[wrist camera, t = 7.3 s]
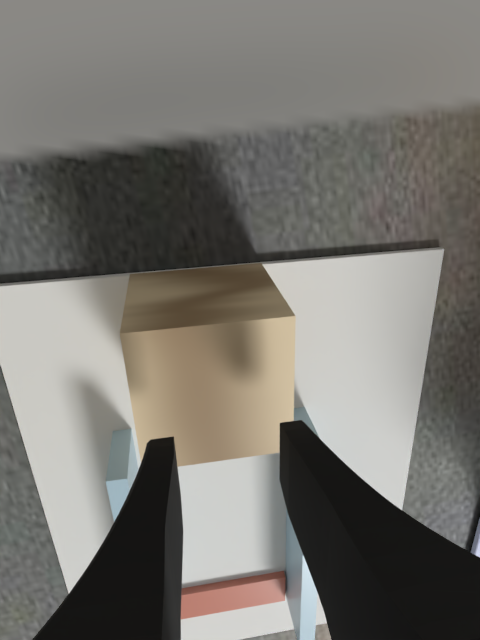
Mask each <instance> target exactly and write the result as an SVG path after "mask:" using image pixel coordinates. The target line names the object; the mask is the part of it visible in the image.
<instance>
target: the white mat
mask: <svg viewBox="0 0 480 640" xmlns="http://www.w3.org/2000/svg"><path fill="white" fill-rule="evenodd" d="M443 253H444V249H443V248H441V247H436V248H424V249H412V250H400V251H388V252H376V253H364V254H352V255H340V256H328V257H316V258H304V259H292V260H280V261H268V262H256V263H262V265H263V266H264V268H265V270H266V271H267V273H268V274H269V276H270V277H271V279H272V280H273V282H274V283H275V285H276V286H277V288H278V290H279V291H280V293H281V294H282V296H283V297H284V299H285V300H286V302H287V303H288V305H289V307H290V308H291V310H292V311H293V313H294V314H295V316H296V322H295V376H294V408H300V407H305V409H306V411H307V413H308V415H309V417H310V419H311V421H312V423H313V425H314V427H315V429H316V432H317V434H318V436H319V438H320V439H321V440H322V441H323V442H324V443H325V444H326V445H327V446H328V447H329V448H330V449H331V450H332V451H333V452H334V453H335V454H336V455H337V456H338V457H339V458H340V459H341V460H342V461H343V462H344V463H345V464H346V465H347V466H348V467H349V468H351V469H352V470H353V471H354V472H355V473H356V474H357V475H358V476H359V477H361V478H362V479H363V480H364V481H365V482H366V483H368V484H369V485H370V486H371V487H372V488H374V489H375V490H376V491H377V492H378V493H380V494H381V495H382V496H383V497H385V498H386V499H387V500H389V501H390V502H391V503H392V504H394V505H395V506H397V507H398V508H399V509H401V510H402V507H403V501H404V495H405V488H406V482H407V476H408V470H409V464H410V458H411V451H412V445H413V439H414V433H415V427H416V420H417V414H418V408H419V402H420V396H421V389H422V383H423V377H424V371H425V365H426V358H427V352H428V346H429V340H430V334H431V328H432V321H433V315H434V309H435V303H436V297H437V290H438V284H439V278H440V272H441V266H442V259H443ZM244 264H255V263H244ZM232 265H243V264H232ZM232 265H220V266H232ZM220 266H208V267H220ZM208 267H196V268H208ZM196 268H184V269H196ZM184 269H171V270H159V271H147V272H135V273H123V274H111V275H99V276H87V277H75V278H63V279H51V280H39V281H27V282H15V283H3V284H0V365H1V368H2V371H3V375H4V378H5V382H6V385H7V388H8V392H9V395H10V398H11V402H12V405H13V408H14V412H15V415H16V418H17V422H18V425H19V428H20V432H21V435H22V439H23V442H24V445H25V449H26V452H27V455H28V459H29V462H30V465H31V469H32V472H33V475H34V479H35V482H36V485H37V489H38V492H39V496H40V499H41V502H42V506H43V509H44V512H45V516H46V519H47V522H48V526H49V529H50V532H51V536H52V539H53V542H54V546H55V549H56V553H57V556H58V559H59V563H60V566H61V569H62V573H63V576H64V579H65V583H66V586H67V589H68V593H70V592H71V590H72V589H73V587H74V586H75V584H76V583H77V581H78V580H79V579H80V577H81V576H82V574H83V573H84V571H85V570H86V569H87V567H88V565H89V564H90V562H91V561H92V559H93V558H94V556H95V554H96V553H97V551H98V550H99V548H100V546H101V545H102V543H103V541H104V540H105V538H106V536H107V534H108V533H109V531H110V529H111V527H112V525H113V523H114V519H113V514H112V509H111V505H110V500H109V495H108V491H107V486H106V475H107V468H108V461H109V454H110V447H111V440H112V433H113V431H117V430H125V429H132V434H133V440H134V446H135V452H136V458H137V464H138V470H139V467H140V465H141V460H140V454H139V448H138V442H137V436H136V430H135V424H134V417H133V411H132V405H131V399H130V393H129V387H128V381H127V375H126V369H125V363H124V357H123V351H122V345H121V339H120V329H121V323H122V317H123V311H124V305H125V300H126V294H127V288H128V282H129V276H130V274H137V273H149V272H161V271H173V270H184ZM279 473H280V453H273V454H266V455H259V456H251V457H244V458H237V459H230V460H223V461H215V462H208V463H201V464H194V465H187V466H180V467H178V475H179V484H180V492H181V505H182V519H183V561H182V588H187V587H192V586H198V585H204V584H210V583H216V582H222V581H227V580H233V579H239V578H245V577H251V576H256V575H262V574H268V573H274V572H280V571H284V574H285V572H286V504H285V500H284V496H283V492H282V488H281V484H280V480H279ZM324 623H327V621H326V617H325V614H324V610H323V607H322V604H321V601H320V598H319V595H318V593H317V609H316V625H318V624H324ZM292 629H294V626H293V622H292V618H291V614H290V610H289V606H288V603H287V599H286V595H285V601H281V602H275V603H270V604H264V605H259V606H253V607H247V608H242V609H236V610H231V611H225V612H220V613H214V614H209V615H203V616H198V617H192V618H187V619H181V640H239V639H244V638H250V637H255V636H260V635H266V634H271V633H276V632H281V631H287V630H292Z"/></svg>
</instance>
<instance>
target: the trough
mask: <svg viewBox="0 0 480 640" xmlns="http://www.w3.org/2000/svg"><path fill="white" fill-rule="evenodd" d="M297 420H302V421H303V422H304V423H306V424H307V426H308V427H309V428H310V429H311V430H312V431H313V432H314V433H315V434H316V435H317V436H318V434H317V432H316V429H315V427H314V425H313V423H312V421H311V419H310V417H309V415H308V413H307V411H306V409H305V407H300V408H294V421H297ZM318 437H319V436H318ZM137 472H138V464H137V458H136V452H135V446H134V440H133V434H132V429H125V430H117V431H113V433H112V440H111V447H110V454H109V461H108V468H107V475H106V486H107V491H108V495H109V500H110V505H111V509H112V514H113V519H114V521H115V520H116V518H117V516H118V514H119V512H120V510H121V508H122V506H123V504H124V502H125V500H126V498H127V495H128V493H129V491H130V489H131V487H132V484H133V482H134V480H135V477H136V475H137ZM285 595H286V599H287V603H288V606H289V610H290V614H291V618H292V622H293V626H294V630H295V634H296V637H297V640H315V626H316V609H317V590H316V587H315V585H314V582H313V579H312V577H311V574H310V571H309V569H308V566H307V563H306V561H305V558H304V556H303V553H302V550H301V548H300V545H299V542H298V540H297V537H296V534H295V532H294V529H293V526H292V524H291V521H290V518H289V515H288V512H287V508H286V572H285V574H284V571H280V572H274V573H268V574H262V575H256V576H251V577H245V578H239V579H233V580H227V581H222V582H216V583H210V584H204V585H198V586H192V587H187V588H182V593H181V619H187V618H192V617H198V616H203V615H209V614H214V613H220V612H225V611H231V610H236V609H242V608H247V607H253V606H259V605H264V604H270V603H275V602H281V601H285Z"/></svg>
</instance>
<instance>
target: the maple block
mask: <svg viewBox="0 0 480 640" xmlns="http://www.w3.org/2000/svg"><path fill="white" fill-rule="evenodd" d="M295 322H296V316H295V314H294V313H293V311H292V310H291V308H290V307H289V305H288V303H287V302H286V300H285V299H284V297H283V296H282V294H281V293H280V291H279V290H278V288H277V286H276V285H275V283H274V282H273V280H272V279H271V277H270V276H269V274H268V273H267V271H266V270H265V268H264V266H263V265H262V263H255V264H243V265H232V266H220V267H208V268H196V269H184V270H173V271H161V272H149V273H137V274H130V276H129V282H128V288H127V294H126V300H125V305H124V311H123V317H122V323H121V329H120V339H121V345H122V351H123V357H124V363H125V369H126V375H127V381H128V387H129V393H130V399H131V405H132V411H133V417H134V424H135V430H136V436H137V442H138V448H139V454H140V460H141V462H142V459H143V456H144V453H145V449H146V445H147V443H148V442H149V441H150V440H151V439H158V438H166V437H174V442H175V450H176V459H177V467H180V466H187V465H194V464H201V463H208V462H215V461H223V460H230V459H237V458H244V457H251V456H259V455H266V454H273V453H280V423H282V422H290V421H294V376H295Z"/></svg>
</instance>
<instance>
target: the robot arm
mask: <svg viewBox="0 0 480 640" xmlns="http://www.w3.org/2000/svg"><path fill="white" fill-rule="evenodd" d="M279 480H280V484H281V488H282V492H283V496H284V500H285V504H286V508H287V512H288V515H289V518H290V521H291V524H292V526H293V529H294V532H295V534H296V537H297V540H298V542H299V545H300V548H301V550H302V553H303V556H304V558H305V561H306V563H307V566H308V569H309V571H310V574H311V577H312V579H313V582H314V585H315V587H316V590H317V593H318V595H319V598H320V601H321V604H322V607H323V610H324V614H325V617H326V621H327V624H328V628H329V632H330V635H331V639H332V640H480V519H479V523H478V526H477V530H476V534H475V538H474V541H473V545H472V549H471V553H470V552H468V551H467V550H465V549H463V548H461V547H459V546H458V545H456V544H454V543H452V542H451V541H449V540H447V539H446V538H444V537H442V536H441V535H439V534H437V533H436V532H434V531H432V530H431V529H429V528H427V527H426V526H424V525H423V524H421V523H420V522H418V521H417V520H415V519H414V518H412V517H411V516H409V515H408V514H406V513H405V512H404V511H402V510H401V509H399V508H398V507H397V506H395V505H394V504H392V503H391V502H390V501H389V500H387V499H386V498H385V497H383V496H382V495H381V494H380V493H378V492H377V491H376V490H375V489H374V488H372V487H371V486H370V485H369V484H368V483H366V482H365V481H364V480H363V479H362V478H361V477H359V476H358V475H357V474H356V473H355V472H354V471H353V470H352V469H351V468H349V467H348V466H347V465H346V464H345V463H344V462H343V461H342V460H341V459H340V458H339V457H338V456H337V455H336V454H335V453H334V452H333V451H332V450H331V449H330V448H329V447H328V446H327V445H326V444H325V443H324V442H323V441H322V440H321V439H320V438H319V437H318V436H317V435H316V434H315V433H314V432H313V431H312V430H311V429H310V428H309V427H308V426H307V424H306V423H304V422H303V421H302V420H297V421H290V422H282V423H280V473H279ZM182 561H183V519H182V505H181V492H180V484H179V475H178V467H177V459H176V450H175V442H174V437H166V438H158V439H151V440H150V441H149V442H148V443H147V445H146V449H145V453H144V456H143V459H142V462H141V465H140V467H139V470H138V472H137V475H136V477H135V480H134V482H133V484H132V487H131V489H130V491H129V493H128V495H127V498H126V500H125V502H124V504H123V506H122V508H121V510H120V512H119V514H118V516H117V518H116V520H115V521H114V523H113V525H112V527H111V529H110V531H109V533H108V534H107V536H106V538H105V540H104V541H103V543H102V545H101V546H100V548H99V550H98V551H97V553H96V554H95V556H94V558H93V559H92V561H91V562H90V564H89V565H88V567H87V569H86V570H85V571H84V573H83V574H82V576H81V577H80V579H79V580H78V581H77V583H76V584H75V586H74V587H73V589H72V590H71V592H70V593H69V594H68V596H67V597H66V598H65V600H64V601H63V602H62V604H61V605H60V606H59V608H58V609H57V610H56V612H55V613H54V614H53V615H52V616H51V618H50V619H49V620H48V621H47V623H46V624H45V625H44V626H43V627H42V629H41V630H40V631H39V632H38V634H37V635H36V636H35V637H34V638H33V640H181V593H182Z"/></svg>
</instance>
